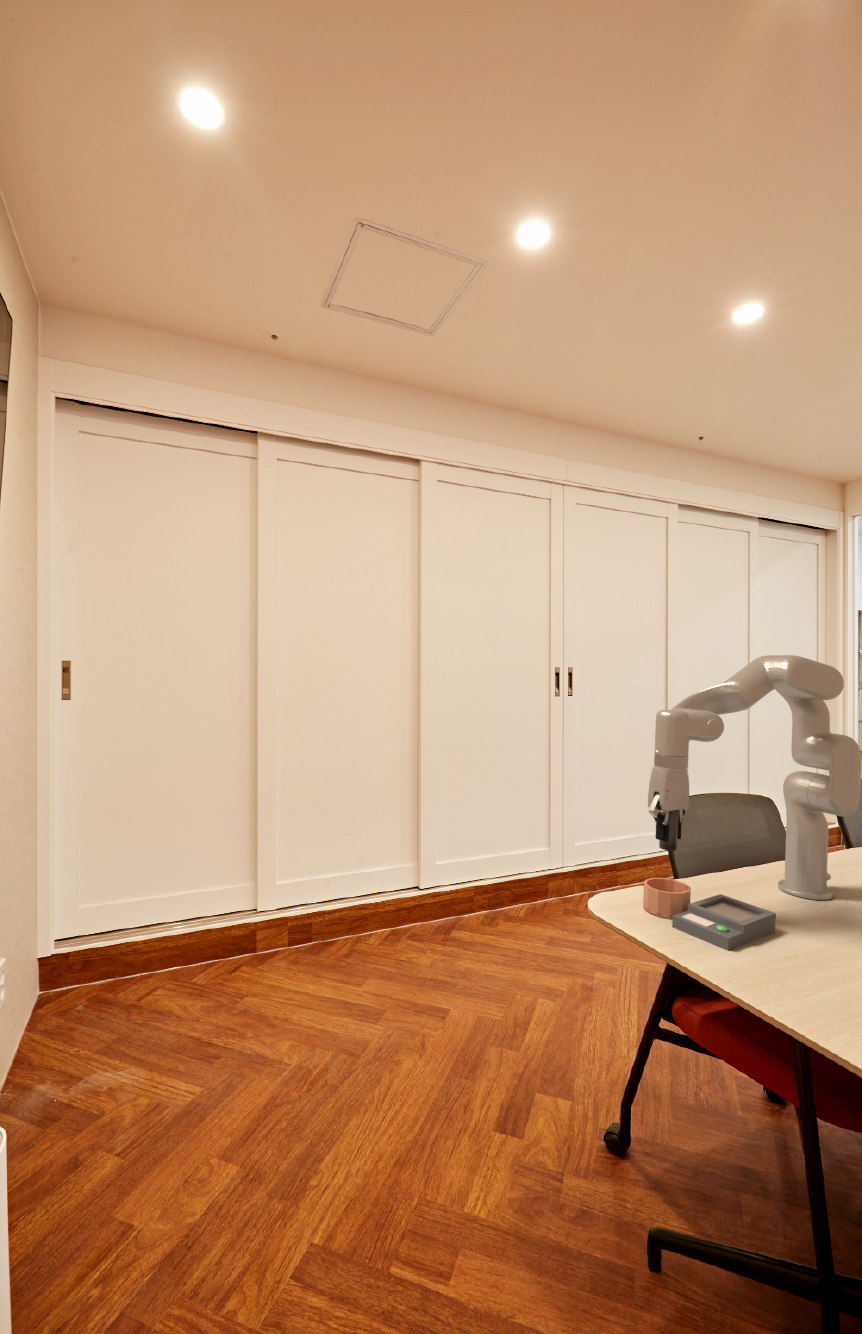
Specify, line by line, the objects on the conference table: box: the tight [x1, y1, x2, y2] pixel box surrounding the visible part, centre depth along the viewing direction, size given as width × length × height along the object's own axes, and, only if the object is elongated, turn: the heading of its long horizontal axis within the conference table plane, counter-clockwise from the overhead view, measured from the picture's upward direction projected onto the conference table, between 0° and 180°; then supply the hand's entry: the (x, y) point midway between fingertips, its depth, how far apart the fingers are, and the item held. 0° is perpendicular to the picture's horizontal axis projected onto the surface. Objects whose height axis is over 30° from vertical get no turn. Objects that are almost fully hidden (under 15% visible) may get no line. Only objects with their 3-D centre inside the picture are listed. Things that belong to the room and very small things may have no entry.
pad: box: [705, 902, 759, 921], centre depth 138 cm, size 9×9×1 cm
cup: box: [642, 877, 692, 920], centre depth 146 cm, size 10×10×6 cm
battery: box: [658, 809, 679, 852], centre depth 146 cm, size 4×4×10 cm
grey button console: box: [671, 893, 777, 951], centre depth 136 cm, size 18×13×4 cm
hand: (668, 838), depth 146 cm, fingers closed on battery, 4 cm apart
